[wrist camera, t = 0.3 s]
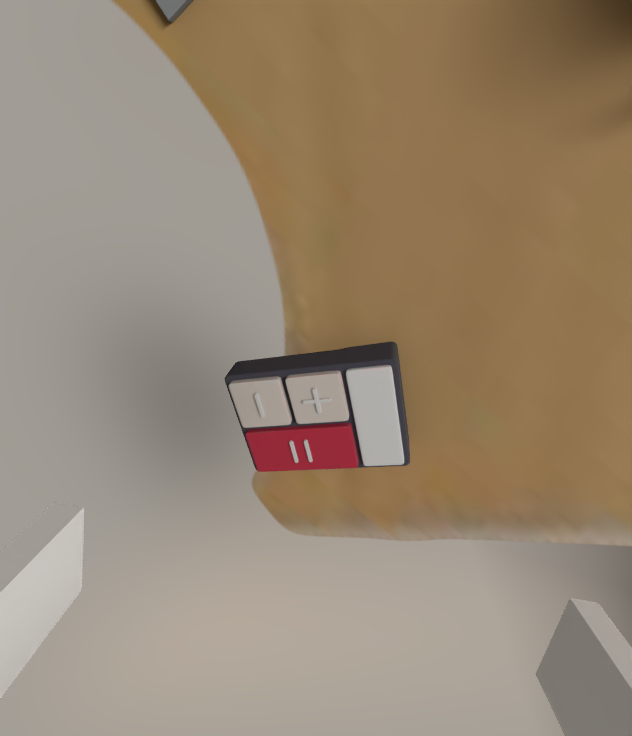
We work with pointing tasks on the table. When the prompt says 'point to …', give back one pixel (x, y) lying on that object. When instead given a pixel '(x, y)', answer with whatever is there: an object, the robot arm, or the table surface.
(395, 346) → the calculator
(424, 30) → the table surface
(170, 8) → the mat
